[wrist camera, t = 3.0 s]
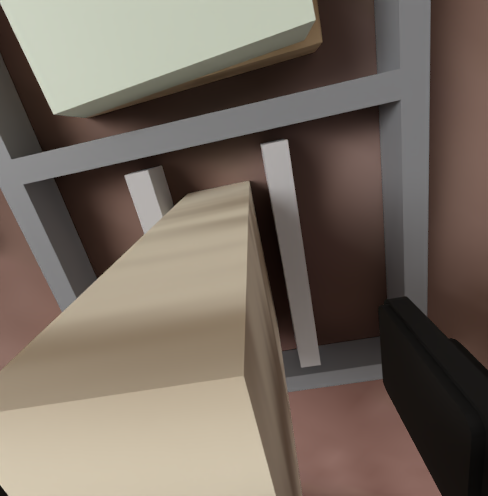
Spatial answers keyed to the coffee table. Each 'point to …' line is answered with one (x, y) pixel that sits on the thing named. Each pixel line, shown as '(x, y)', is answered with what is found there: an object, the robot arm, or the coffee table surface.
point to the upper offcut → (144, 44)
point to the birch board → (159, 371)
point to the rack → (278, 179)
